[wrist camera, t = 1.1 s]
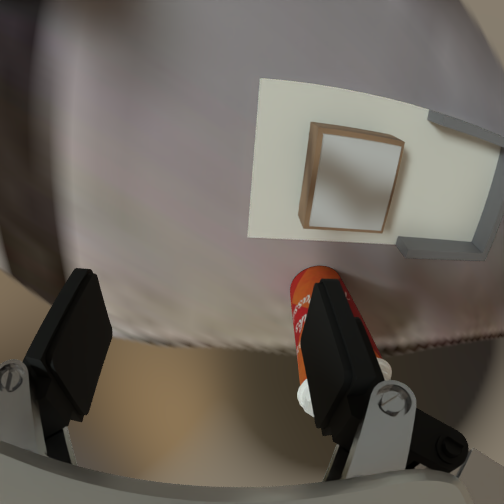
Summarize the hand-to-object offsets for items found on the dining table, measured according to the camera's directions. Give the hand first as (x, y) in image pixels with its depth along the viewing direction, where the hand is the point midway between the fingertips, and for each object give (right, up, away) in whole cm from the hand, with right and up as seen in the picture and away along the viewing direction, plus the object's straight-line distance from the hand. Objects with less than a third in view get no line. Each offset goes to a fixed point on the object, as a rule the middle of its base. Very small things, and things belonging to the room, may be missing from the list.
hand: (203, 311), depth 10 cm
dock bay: (+15, +9, +16) cm, 24 cm away
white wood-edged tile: (+9, +9, +15) cm, 20 cm away
